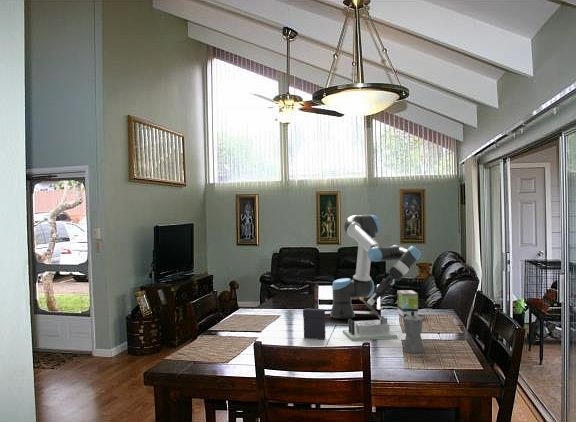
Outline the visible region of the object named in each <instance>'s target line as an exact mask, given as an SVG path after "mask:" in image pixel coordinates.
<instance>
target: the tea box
mask: <svg viewBox="0 0 576 422" xmlns="http://www.w3.org/2000/svg"><path fill="white" fill-rule="evenodd" d="M396 296H397V297H396V298H397V313H398V314H399V315H400V316H401V317H402V318H403V317H404V315H405V314H407V315H410V316H411V312H412V311H413V312H414V316H419V293H418V292H416V291H415V290H412V289H411V290H410V289H409V290H407V289H405V290H404V289H403V290H401V289H400V290H398V289H397V295H396Z"/></svg>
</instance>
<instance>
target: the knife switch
mask: <svg viewBox="0 0 576 422" xmlns="http://www.w3.org/2000/svg"><path fill="white" fill-rule="evenodd" d="M381 316H382V317H383V321H382V320H381V319H380V318H379V319H372V320H371V319H369V320H353V319H352V318H347V319H348V330H349V333H351V335H355V333H356V334H357V335H359V336H365V335H382V334H390V331H391V330H390V323H388V318H387V317H385V316H383V315H381Z"/></svg>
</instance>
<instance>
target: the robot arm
mask: <svg viewBox="0 0 576 422" xmlns="http://www.w3.org/2000/svg"><path fill="white" fill-rule="evenodd" d="M343 230H344V232H345V234H346V235H347V236H348V237H349V238H353V239H354V240H355V241H356V242H357V244H358V247H357V258H356V259H357V260H356V268H355V274H354V275H352V279H351V278H349V277H348V278H347V277H345V278H344V277H343V278H338V279H336V280H333V281H332V288H331V289H332V307H331V311H330V318H332V317H333V318H332V319H344V320H345V319H346V320H347V319H352V318H355V317H356V316H355V311H354V309H353V305H352V300H354V299H355V300H356V299H359V298H360V297H362V298H364V299H366V298H369V299H368V300H367V301H366V302H367V303H368V304H369V305H370V306H371V307H372V306H373V305H374V304H375V302H376V301H377V300H378V299H379V297H383V296H384V295H385V294H386V293H387V292H388V291H389V290H390V289H392V288H393V287H394V286H395V285H396V281H398V282H399V281H401V280H402V278H403V277H404V276H405V275H406V274H408V272H409V271H410V270H411V268H412V267H413V266H414V265H415V264H416V263H417V262H418V261H419V259H420V258H421V256H422V252H421V251H420V250H419V249H418V248H417V247H415V246H413V245H411V246H409V247H408V248H406V247H404V246H401V245H398V244H393V245H392V246H382V245H380V244H379V242H377V241H376V240H375V238H376V237H377V234H378V233H380V231H381V222H380V220H379V217H377V216H376V215H375V214H358V215H357V214H354V215H350V216H348V217H347V218H346V219H345V220H344V223H343ZM387 261H396V262H395V263H394V264H393V266H392V267H391V268H390V269H389V270H388V271H387V272H388V274H389V275H388V276H386V277H384V278H382V280H381V281H380V283H379V285H378V286H377V287H376V288H375V283H374V281H373V279H372V277H371V276H370V271H371V264H372V263H371V262H387Z"/></svg>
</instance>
